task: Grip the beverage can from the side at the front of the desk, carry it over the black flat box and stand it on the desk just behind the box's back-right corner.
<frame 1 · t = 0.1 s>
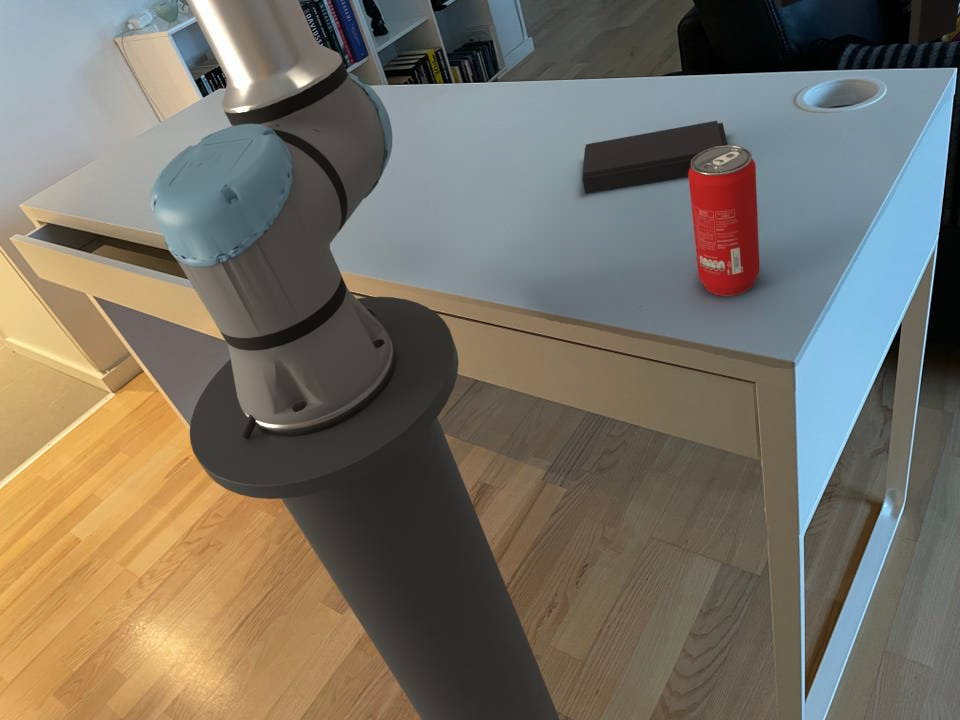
hand: (856, 18, 53), 21 cm above the table, tool pointing down, fingers open, 13 cm apart
black flat box: (655, 165, 89), on the table
beverage can: (729, 283, 69), on the table
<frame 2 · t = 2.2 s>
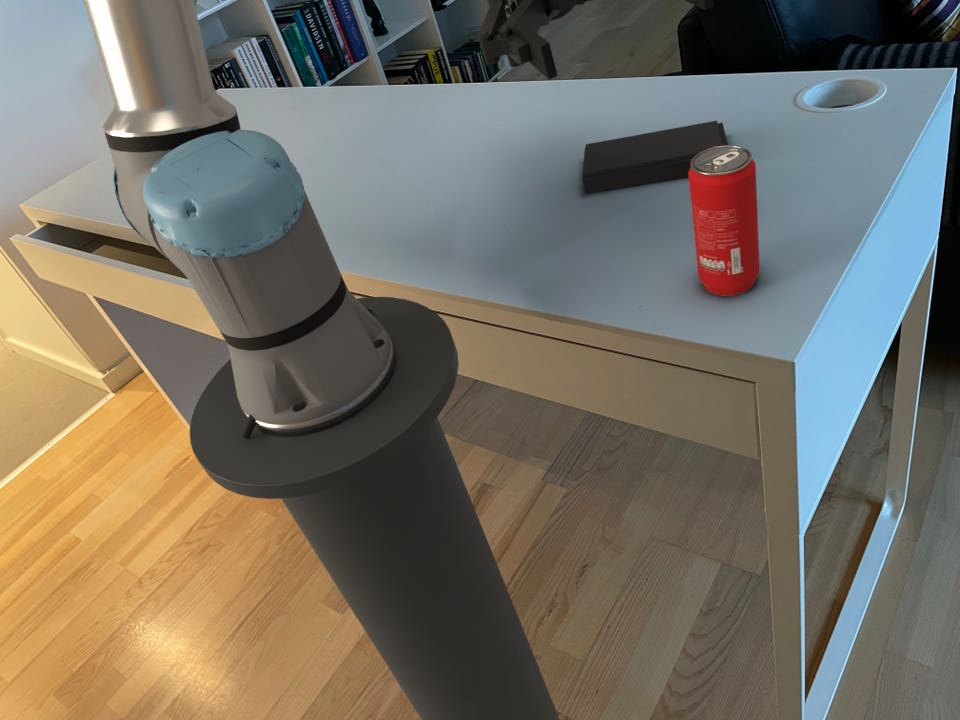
hand: (628, 26, 60), 22 cm above the table, tool horizontal, fingers open, 13 cm apart
nothing on the table moved.
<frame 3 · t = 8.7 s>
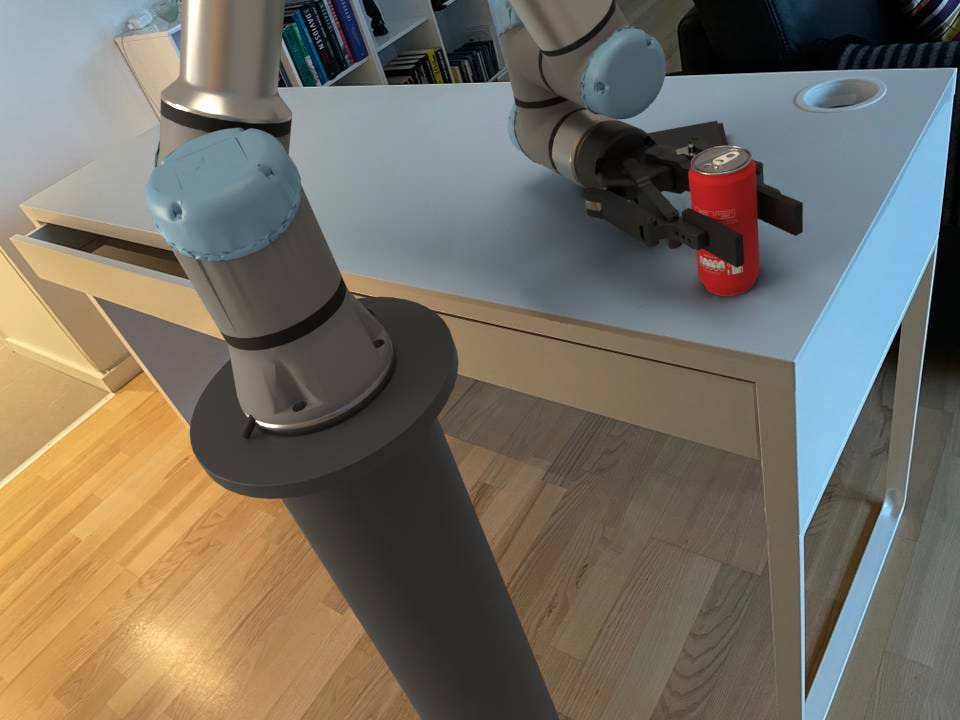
hand: (769, 235, 60), 7 cm above the table, tool horizontal, fingers closed on beverage can, 5 cm apart
beverage can: (729, 283, 69), on the table, touching gripper
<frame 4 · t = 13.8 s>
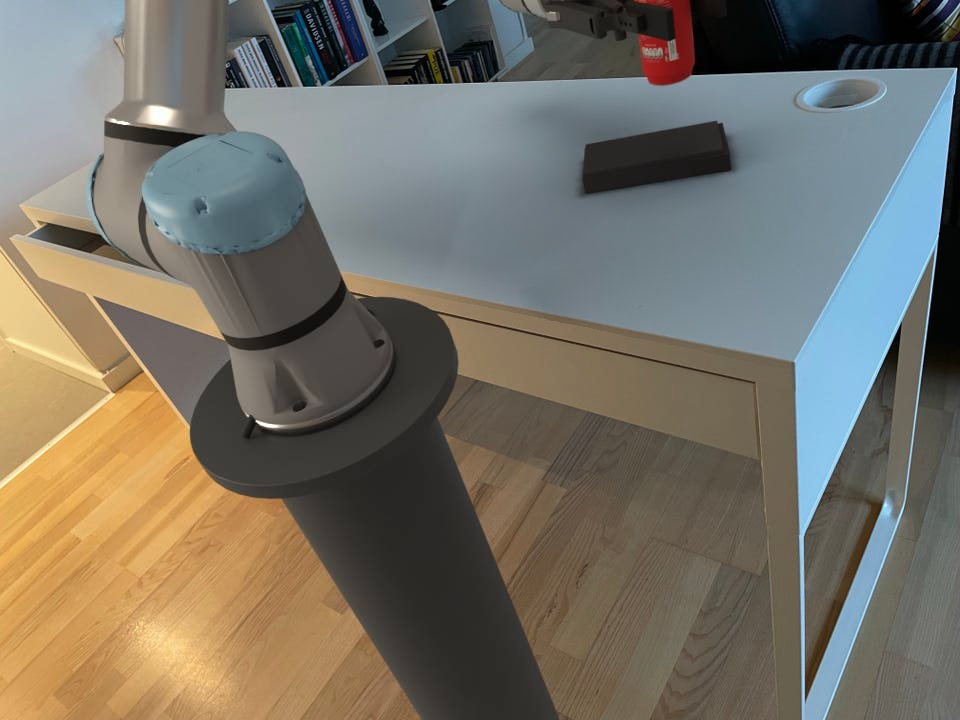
hand: (696, 13, 71), 18 cm above the table, tool horizontal, fingers closed on beverage can, 5 cm apart
beverage can: (670, 78, 79), point 11 cm above the table, touching gripper
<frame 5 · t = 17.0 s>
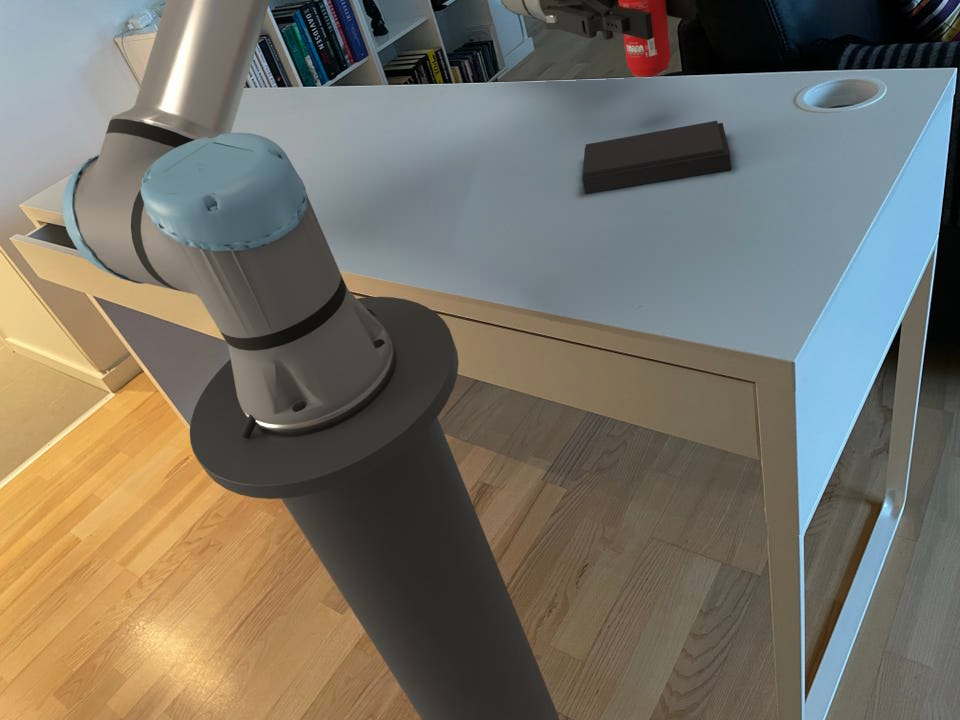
hand: (671, 16, 85), 14 cm above the table, tool horizontal, fingers closed on beverage can, 5 cm apart
beverage can: (650, 71, 93), point 7 cm above the table, touching gripper
when the fingers open (7 cm above the table, at t = 19.2 s): beverage can stays where it is, on the table.
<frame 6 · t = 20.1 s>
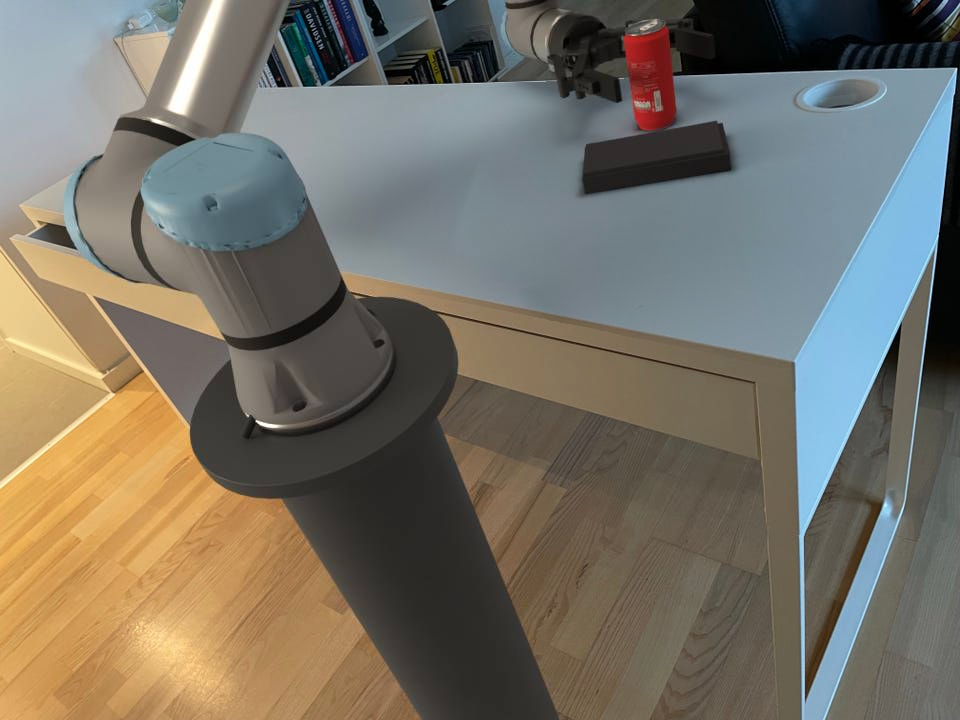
hand: (665, 68, 90), 8 cm above the table, tool horizontal, fingers open, 13 cm apart
beverage can: (656, 124, 98), on the table
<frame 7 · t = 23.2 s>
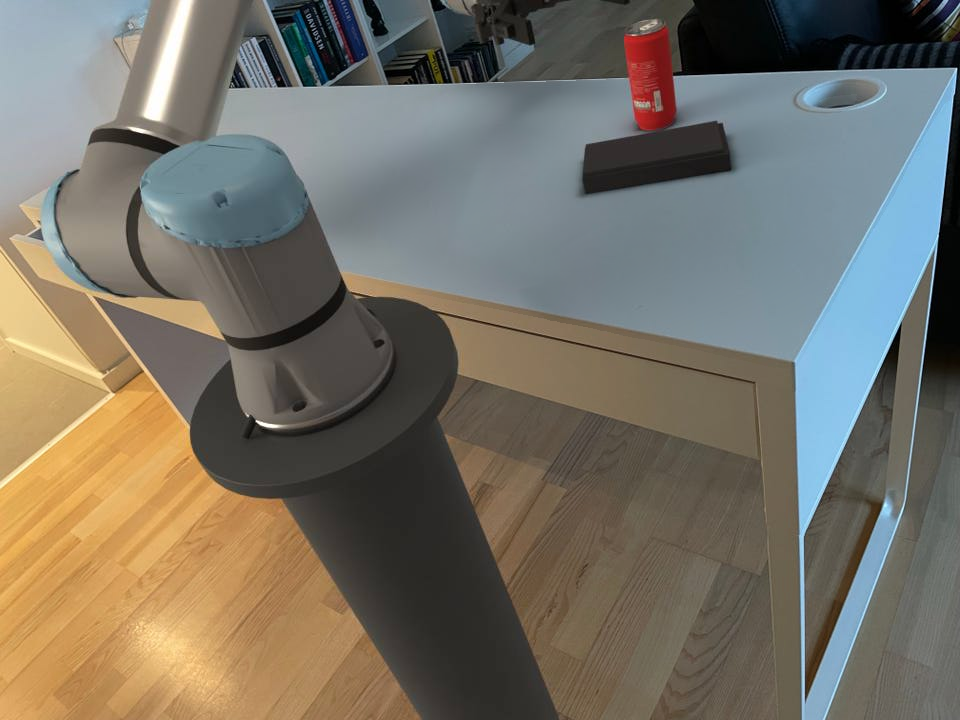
hand: (579, 12, 92), 15 cm above the table, tool horizontal, fingers open, 13 cm apart
nothing on the table moved.
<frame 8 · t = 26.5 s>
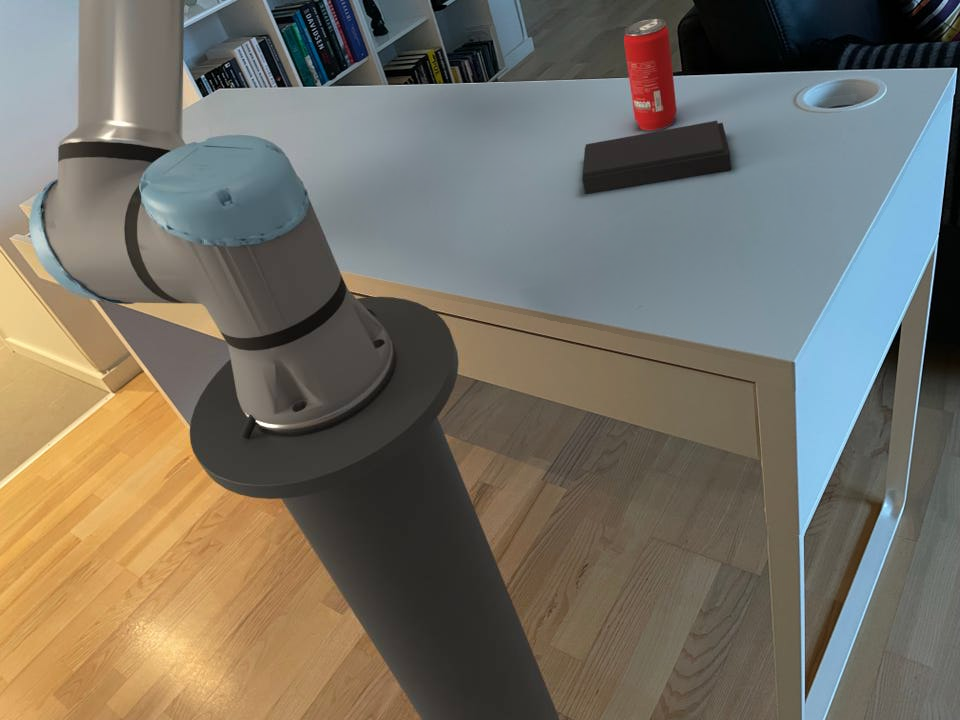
nothing on the table moved.
at the end: beverage can 0.1 cm from the target spot on the table beside the black flat box, on the table; beverage can tilted 0°; the gripper is holding nothing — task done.
